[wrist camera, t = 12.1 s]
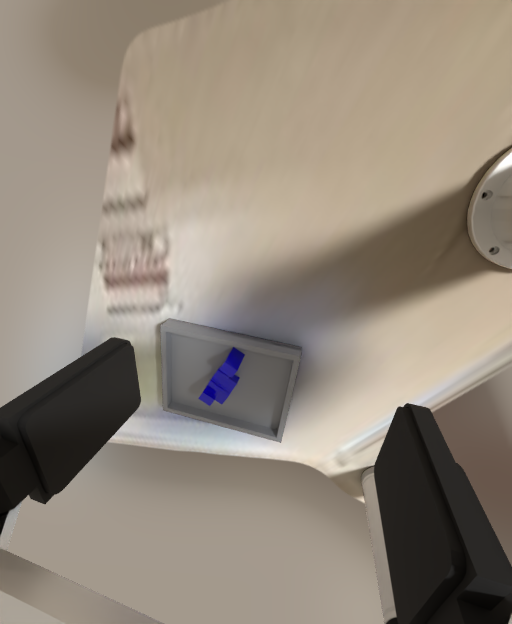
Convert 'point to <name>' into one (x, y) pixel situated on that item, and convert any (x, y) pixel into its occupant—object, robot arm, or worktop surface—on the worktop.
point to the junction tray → (252, 372)
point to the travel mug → (378, 546)
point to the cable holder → (223, 379)
